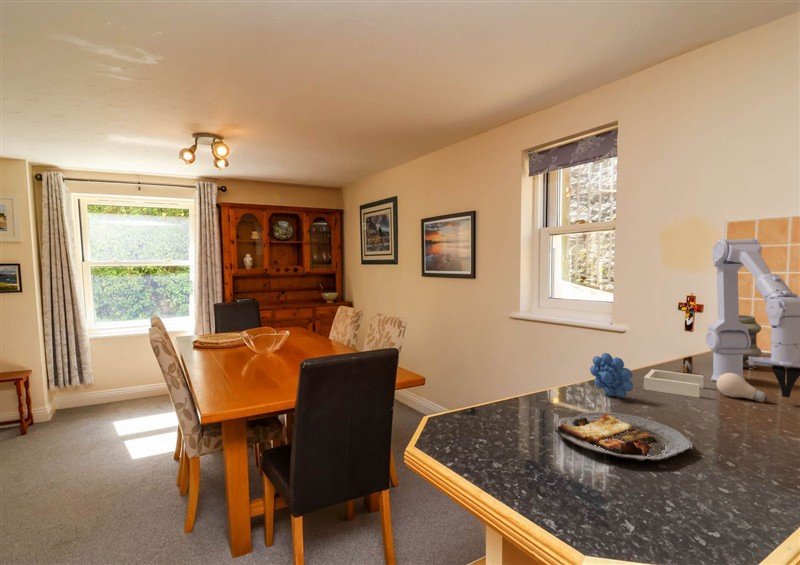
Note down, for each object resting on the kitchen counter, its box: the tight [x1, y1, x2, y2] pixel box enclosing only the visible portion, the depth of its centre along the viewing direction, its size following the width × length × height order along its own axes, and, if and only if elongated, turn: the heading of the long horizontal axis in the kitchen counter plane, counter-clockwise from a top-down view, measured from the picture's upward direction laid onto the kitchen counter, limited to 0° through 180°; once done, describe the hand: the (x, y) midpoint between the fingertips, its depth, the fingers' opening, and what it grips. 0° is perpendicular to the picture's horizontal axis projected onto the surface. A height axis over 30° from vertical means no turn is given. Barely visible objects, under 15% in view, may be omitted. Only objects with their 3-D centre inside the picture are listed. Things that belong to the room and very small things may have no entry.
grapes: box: [589, 352, 634, 399], centre depth 114 cm, size 12×7×12 cm, turn 39°
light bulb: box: [716, 373, 768, 403], centre depth 111 cm, size 7×7×11 cm
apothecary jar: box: [722, 314, 762, 368], centre depth 146 cm, size 12×12×18 cm
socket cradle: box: [643, 368, 705, 399], centre depth 121 cm, size 12×13×4 cm
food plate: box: [553, 411, 694, 462], centre depth 85 cm, size 25×23×4 cm
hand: (785, 396), depth 105 cm, fingers closed
